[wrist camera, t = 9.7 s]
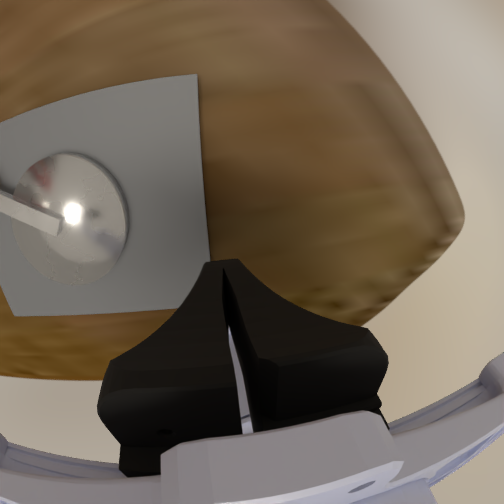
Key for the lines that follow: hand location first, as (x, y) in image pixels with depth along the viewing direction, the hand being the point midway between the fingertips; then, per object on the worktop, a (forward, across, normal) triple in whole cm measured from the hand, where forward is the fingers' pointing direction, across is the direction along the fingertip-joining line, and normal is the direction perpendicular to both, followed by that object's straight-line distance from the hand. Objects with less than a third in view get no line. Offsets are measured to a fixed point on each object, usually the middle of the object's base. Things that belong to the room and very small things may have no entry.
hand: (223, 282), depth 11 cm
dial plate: (+9, +10, -1) cm, 14 cm away
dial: (+8, +12, -2) cm, 14 cm away
